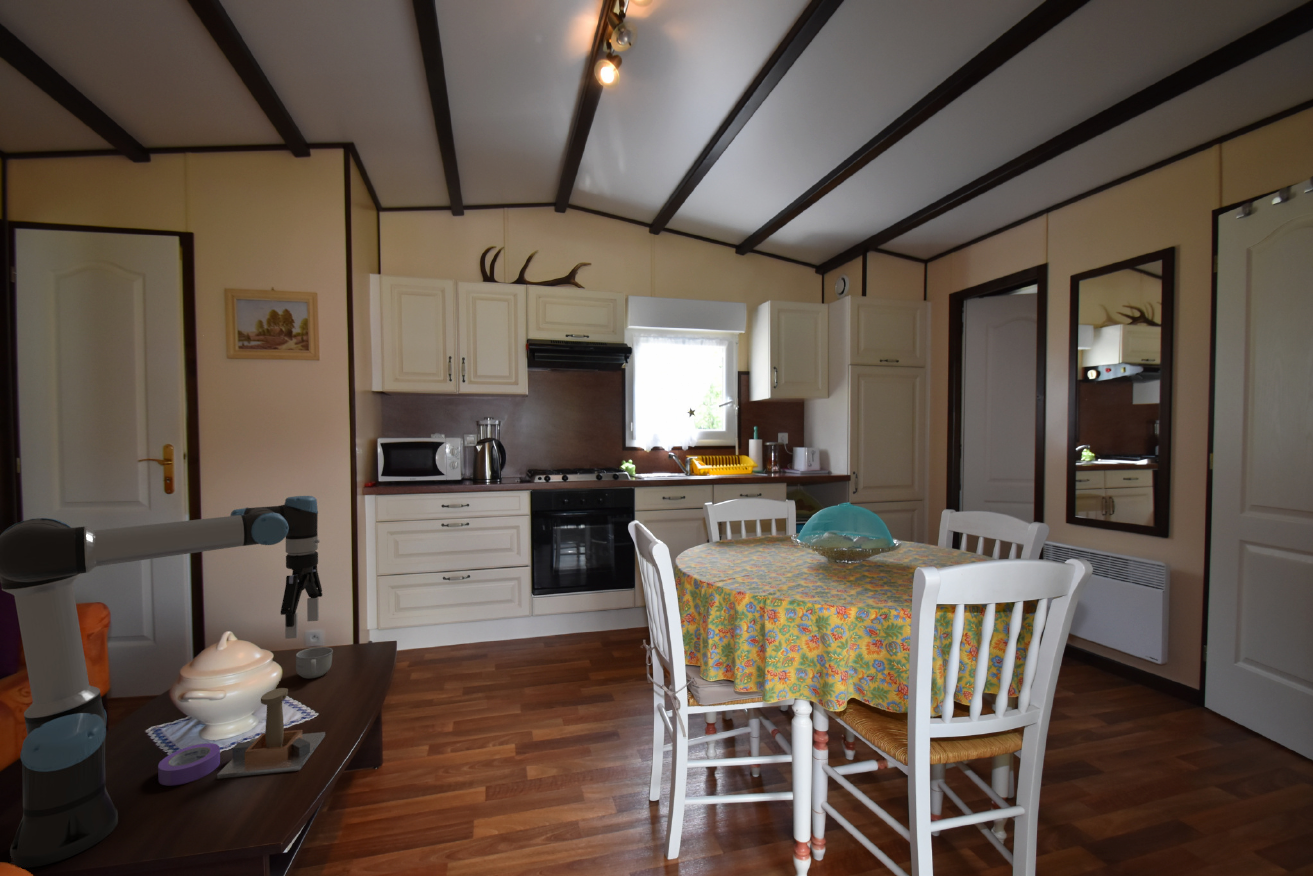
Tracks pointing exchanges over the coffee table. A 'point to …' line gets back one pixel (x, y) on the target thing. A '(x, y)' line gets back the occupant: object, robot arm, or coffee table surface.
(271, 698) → the handle
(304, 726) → the coffee table surface
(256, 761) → the coupling base
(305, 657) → the teacup
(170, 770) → the masking tape
